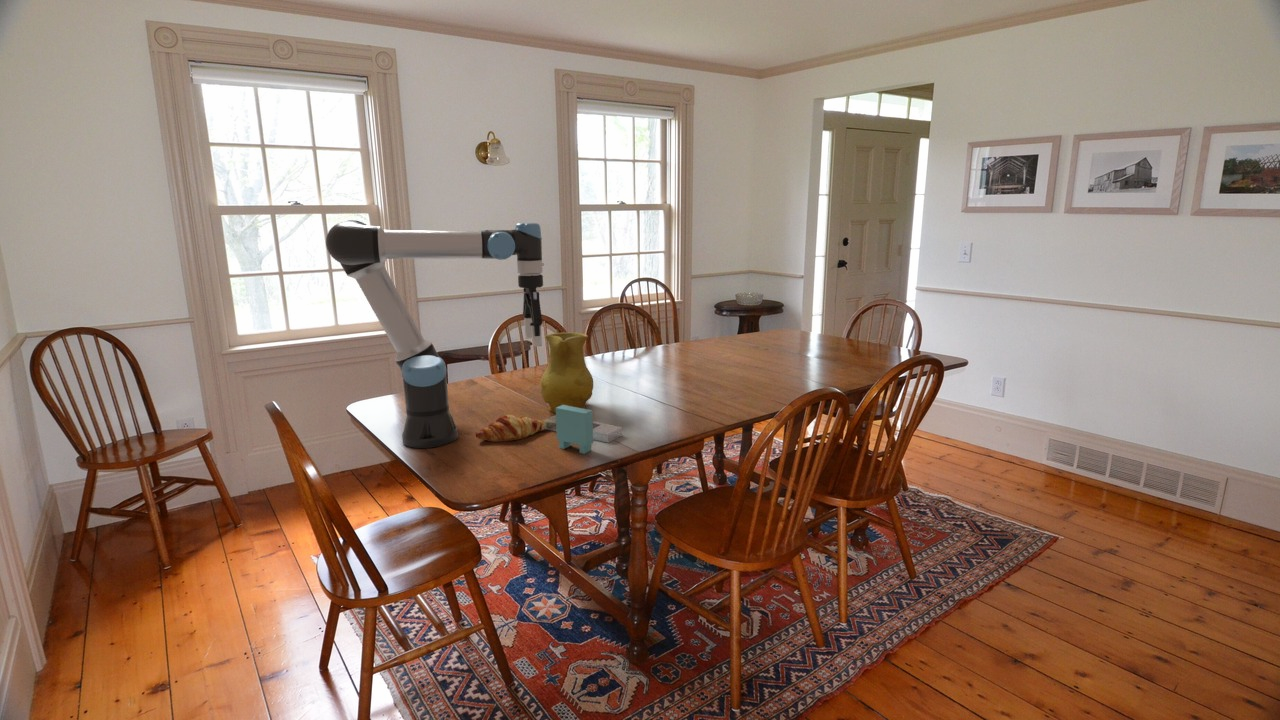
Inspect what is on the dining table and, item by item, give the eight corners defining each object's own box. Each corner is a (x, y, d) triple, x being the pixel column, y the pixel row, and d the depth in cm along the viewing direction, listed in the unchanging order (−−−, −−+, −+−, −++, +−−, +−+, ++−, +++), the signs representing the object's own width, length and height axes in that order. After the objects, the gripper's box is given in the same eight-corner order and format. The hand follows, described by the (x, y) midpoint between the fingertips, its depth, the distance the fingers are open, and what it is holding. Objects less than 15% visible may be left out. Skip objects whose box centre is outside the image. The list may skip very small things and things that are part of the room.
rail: (608, 442, 182) (607, 434, 182) (542, 428, 195) (542, 420, 194) (622, 435, 188) (621, 427, 187) (557, 421, 201) (557, 414, 200)
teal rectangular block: (586, 454, 174) (585, 413, 171) (557, 447, 179) (555, 407, 177) (593, 450, 177) (592, 410, 174) (564, 444, 182) (563, 404, 179)
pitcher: (529, 411, 210) (529, 335, 205) (562, 399, 226) (563, 328, 221) (573, 420, 202) (575, 341, 197) (604, 406, 219) (606, 333, 214)
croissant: (543, 438, 197) (537, 412, 199) (554, 431, 189) (548, 405, 190) (474, 450, 186) (469, 423, 188) (483, 444, 178) (477, 416, 180)
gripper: (550, 277, 189) (553, 349, 194) (535, 270, 212) (538, 334, 217) (524, 278, 186) (527, 350, 191) (512, 271, 209) (515, 335, 214)
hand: (533, 342), depth 204 cm, fingers open, 13 cm apart
